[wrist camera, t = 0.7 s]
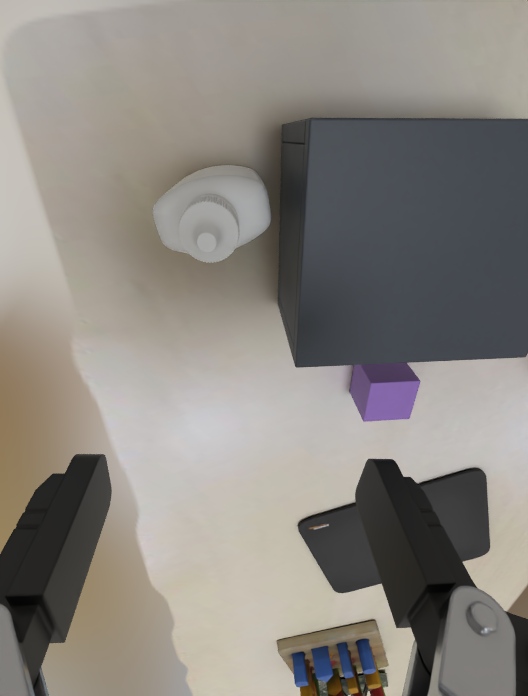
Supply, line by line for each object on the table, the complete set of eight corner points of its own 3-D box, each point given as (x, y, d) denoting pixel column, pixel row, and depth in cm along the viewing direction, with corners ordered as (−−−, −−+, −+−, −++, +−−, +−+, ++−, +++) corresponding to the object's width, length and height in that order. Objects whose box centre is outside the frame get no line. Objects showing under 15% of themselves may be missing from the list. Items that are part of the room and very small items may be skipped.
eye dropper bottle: (182, 142, 21) (135, 147, 11) (269, 174, 22) (300, 206, 12) (168, 215, 23) (118, 276, 13) (249, 240, 24) (261, 315, 14)
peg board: (375, 618, 59) (396, 687, 51) (385, 654, 68) (404, 717, 60) (276, 640, 60) (282, 710, 53) (298, 672, 69) (306, 736, 62)
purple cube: (355, 355, 30) (370, 383, 27) (399, 353, 30) (421, 380, 27) (349, 391, 32) (363, 421, 29) (391, 389, 33) (409, 419, 29)
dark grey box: (498, 125, 22) (637, 119, 14) (447, 298, 28) (526, 357, 21) (281, 124, 21) (309, 117, 13) (277, 304, 27) (295, 368, 20)
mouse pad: (484, 464, 39) (485, 467, 39) (489, 552, 50) (490, 554, 49) (294, 521, 42) (294, 524, 42) (336, 593, 52) (336, 595, 52)
